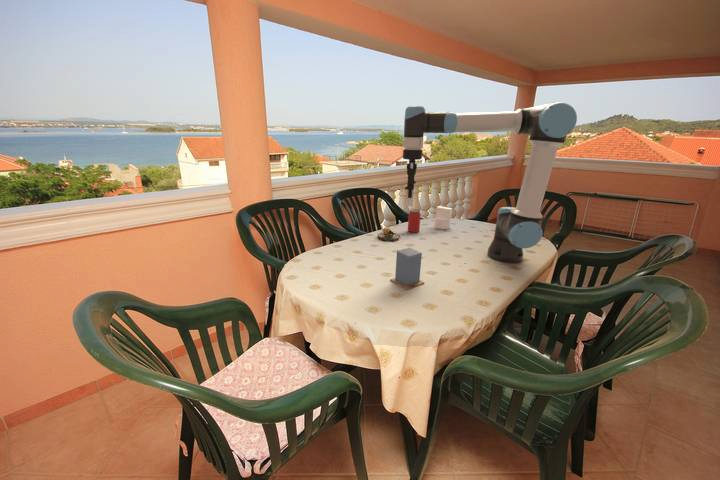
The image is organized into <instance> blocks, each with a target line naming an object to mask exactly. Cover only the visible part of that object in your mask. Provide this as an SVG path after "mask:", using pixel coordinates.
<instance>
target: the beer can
mask: <svg viewBox="0 0 720 480" xmlns="http://www.w3.org/2000/svg"><path fill="white" fill-rule="evenodd" d="M421 218H422V217H421V211H420V210H419V209H410V210H409V213H408V219H407V231H408V232H409V233H412V232H413V233H415V234H416V233H419V232H420V227H421Z"/></svg>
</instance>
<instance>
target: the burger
mask: <svg viewBox="0 0 720 480" xmlns="http://www.w3.org/2000/svg"><path fill="white" fill-rule="evenodd" d="M400 237H401V236H400V234H398V233H397V232H393V231H392V229H391V228H390V227H388V226H387V227H384V228H383V229H382V232H380V233H377V239H378V240H380V241H383V242H394V241H395V240H397V239H399V238H400Z"/></svg>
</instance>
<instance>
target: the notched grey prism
mask: <svg viewBox="0 0 720 480" xmlns="http://www.w3.org/2000/svg"><path fill="white" fill-rule="evenodd" d="M422 254H423V252H421V251H418V250H416V249H415V248H411V247H406V248H402V249H400V250H396V260H395V261H396V262H395V276H394V278H395V280H396V281H398V282H400V283H402V284H404V285H405V286H409V285H412V284H415V283H418V282H419V280H420V277H421V266H422V265H421V264H422V256H423V255H422Z"/></svg>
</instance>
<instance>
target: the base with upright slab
mask: <svg viewBox="0 0 720 480" xmlns="http://www.w3.org/2000/svg"><path fill="white" fill-rule="evenodd" d="M435 210H436V211H435V219H434V228H435V227H436V228H435V229H437V228H441V229H440V230H443V229H446V230H449V229H448V228H450V229H451V224H452V223H451V222H452V221H451V220H452V214H453V213H452V211H453V208H452V207H445V206H441V205H440V206H439V205H438V206H436V209H435Z"/></svg>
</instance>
